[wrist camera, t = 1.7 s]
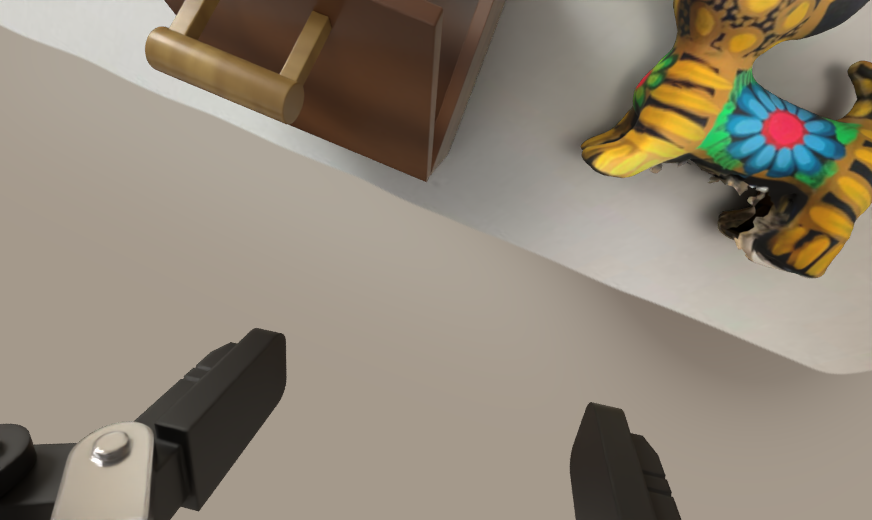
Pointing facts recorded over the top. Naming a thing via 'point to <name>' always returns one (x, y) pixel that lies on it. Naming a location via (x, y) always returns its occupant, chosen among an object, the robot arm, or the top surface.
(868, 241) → the top surface
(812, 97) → the top surface
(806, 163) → the dog figurine
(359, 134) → the chest lid
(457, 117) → the storage chest
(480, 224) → the top surface
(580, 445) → the robot arm
